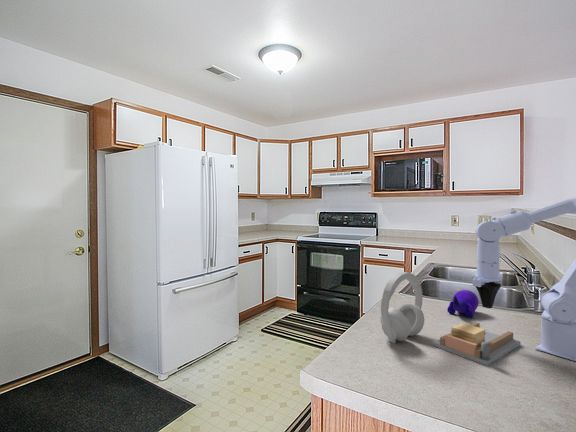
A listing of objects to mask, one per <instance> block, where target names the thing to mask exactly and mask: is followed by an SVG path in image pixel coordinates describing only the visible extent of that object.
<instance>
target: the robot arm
mask: <svg viewBox="0 0 576 432" xmlns="http://www.w3.org/2000/svg"><path fill="white" fill-rule="evenodd" d="M566 214H573V215H576V197H571V198H565V199H563V200H560V201H556V202H554V203H552V204H549V205H545V206H543V207H539V208H537V209H535V210H532V211H529V212H525V211H522V210H517V211H516V210H515V209H513V210H510V211H508V213H507V214H505V215H502V216H499V217H496V216H494V217H491V218H490V220H485V221H482V222H479V224H478V225H477V227H476V230H475V234H476V235H477V240H476V243H477V244H476V273H473V274H472V278H473V279H472V287H475V288H476V290H477V292H478V294H479V298H480V302H481V305H482V308H486V309H492V308H493V306H494V304H495V299H496V296H497V294H498V291H499V290H500V289H501V287H502V283H498V282H499V281H500V282H501V281H502V280H503V274H502V273H500V259H501V257H500V256H501V255H500V251H501V250H500V238H501V237H507V236H512V235H514V234H517V233H521V232H523V231H527V230H528V231H529V230H530V228H531V226H532V225H533V223H538V222H541V221H545V220H548V219H552V218H556V217H558V216H562V215H563V216H564V215H566ZM539 304H540V306H541V307H542V309H544V310H543V312H542V313H541V315H540V319H541V320H540V321H541V322H540V325H541V326H540V343H539V344H538V345H536V346H535V347H534V349H535V350H536V351H541V352H544V353H548V354H551V355H554V356H557V357H560V358H564V359H567V360H569V361H570V360H571V361H574V362H576V257H575V259H573V262H572V263H571V265H570V266H569V267H568V269H567V270H566V272H565V273H564V275H563V276H562V278H561V280H559V281H557V282H556V283H554V284H553V285H552V287H551V288H550V289H549V290H547V291H545V292H543V293H542V294H541V295H540V297H539Z"/></svg>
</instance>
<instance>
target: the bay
mask: <svg viewBox="0 0 576 432" xmlns="http://www.w3.org/2000/svg"><path fill="white" fill-rule="evenodd" d="M469 325H472V326H475V327H479V328H481V327H480V325H481V324H480V322H476V321H475V322H472V323H470V324H469ZM485 332H486V334H485V342H481V346H480V347H478V348H477V344H475V343H472V342H469V341H466V340H463V339H460V338H457V337H454V336H452V333H451V332H450V333H447V334H444V335H443V336H440V337H439V339H438V340H435V341H434V342H433V346H434V347H436V348H439V349H442V350H443V351H447V352H450V353H452V354H455V355H457V356H460V357H463V358H465V359H468V360H471V361H473V362H476V363H479V364H482V365H484V366H487V367H488V366H489V365H491V364H493V363H494V362H496V361H498V359H500V358H502V357H504V356H505V355H506V354H508V353H510V352H511V351H513V350H515V349H516V348H517V347H519V346H520V345H521V341H520V340H517V339H514V332H513V331H506V332H505V333H503V334H500V335H499V334H496V333H493V332H489V331H487V330H485Z"/></svg>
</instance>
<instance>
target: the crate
mask: <svg viewBox="0 0 576 432" xmlns="http://www.w3.org/2000/svg"><path fill="white" fill-rule="evenodd" d="M485 331H486V328H481V327H480V328H479V327H475V326H472V325H470V324H468V323H465V322H461V323H459V324H457V325H454V326H452V327H451V330H450V333H452V336H454V337H457V338H460V339H463V340H466V341H469V342H472V343H475V344H477V348H478V347H480V346H481V342H485V334H486V332H485Z"/></svg>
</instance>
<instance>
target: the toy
mask: <svg viewBox="0 0 576 432" xmlns="http://www.w3.org/2000/svg"><path fill="white" fill-rule="evenodd" d="M479 303H480V302H479V298H478V296H477V295H476V293H475V292H473V291H471V290H469V289H462V290H459V291H457V292H456V293H455V294H454V295H453V297H452V301H450V302H449V305H448V307H447V310H446V311H447V313H449V314H450V315H454V314H455V313H456V312H458V313H461V314H463V315H464V316H465V317H466V318H469V319H472V318H474V313H475V311H476V310H477V309H478V307H479Z"/></svg>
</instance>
